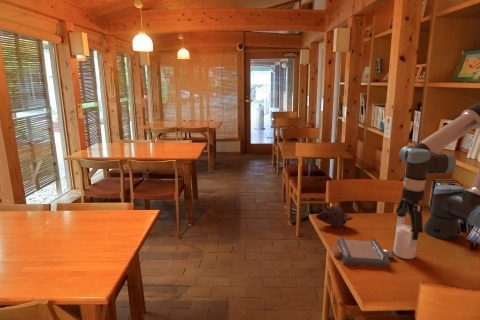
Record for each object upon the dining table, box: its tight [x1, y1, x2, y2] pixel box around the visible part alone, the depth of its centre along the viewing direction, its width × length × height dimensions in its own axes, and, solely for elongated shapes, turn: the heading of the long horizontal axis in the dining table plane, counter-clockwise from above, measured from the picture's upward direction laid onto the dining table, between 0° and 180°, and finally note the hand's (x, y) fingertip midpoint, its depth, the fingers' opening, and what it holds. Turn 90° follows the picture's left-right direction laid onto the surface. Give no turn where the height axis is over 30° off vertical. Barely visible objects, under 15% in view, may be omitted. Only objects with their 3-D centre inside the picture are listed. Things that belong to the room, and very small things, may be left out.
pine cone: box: [315, 205, 354, 228], centre depth 163 cm, size 18×10×10 cm, turn 88°
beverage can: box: [392, 223, 417, 260], centre depth 136 cm, size 8×8×12 cm
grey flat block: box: [331, 235, 395, 268], centre depth 136 cm, size 23×15×4 cm, turn 85°
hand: (405, 238), depth 136 cm, fingers open, 13 cm apart
